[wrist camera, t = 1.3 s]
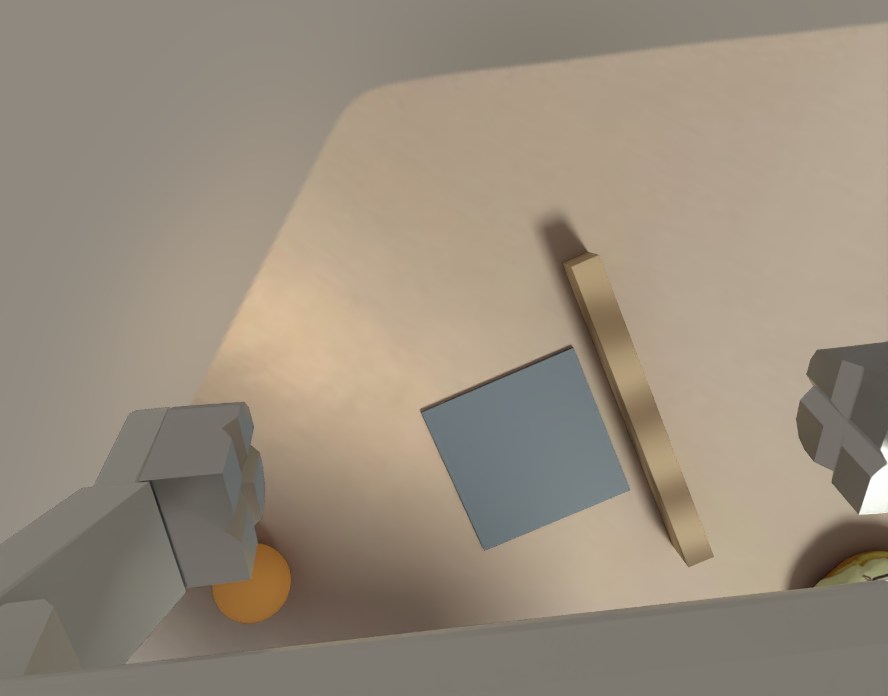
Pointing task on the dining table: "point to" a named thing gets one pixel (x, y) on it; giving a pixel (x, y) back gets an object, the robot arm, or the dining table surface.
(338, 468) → the dining table surface
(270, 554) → the ball
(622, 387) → the rail
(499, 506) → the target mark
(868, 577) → the decorated donut
